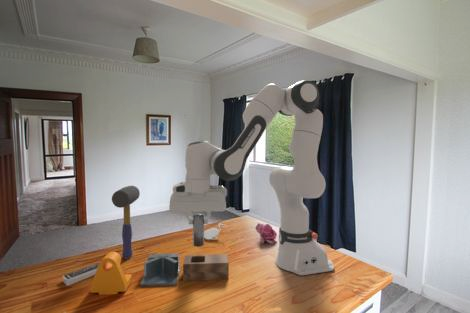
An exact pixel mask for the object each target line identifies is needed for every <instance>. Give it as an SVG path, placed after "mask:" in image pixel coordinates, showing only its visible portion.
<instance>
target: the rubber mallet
mask: <svg viewBox="0 0 470 313" xmlns="http://www.w3.org/2000/svg"><path fill="white" fill-rule="evenodd" d="M140 194H141V193H140V190H139V188H138V187H137V186H135V185H128V186H124V187H122V188H120V189H118V190H117V191H115V192H114V193H113V194H112V196H111V202H112V204H113V205H114V207H117V208H118V209H119V208H123V224H122V231H121V238H122V252H121V257H122V258H123V259H124V260H129V259H131V258H132V256H133V250H132V249H133V248H132V238H133V231H132V230H133V229H132V224H131V204H134V202H136V201H137V200H138V199H139V198H140Z"/></svg>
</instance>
